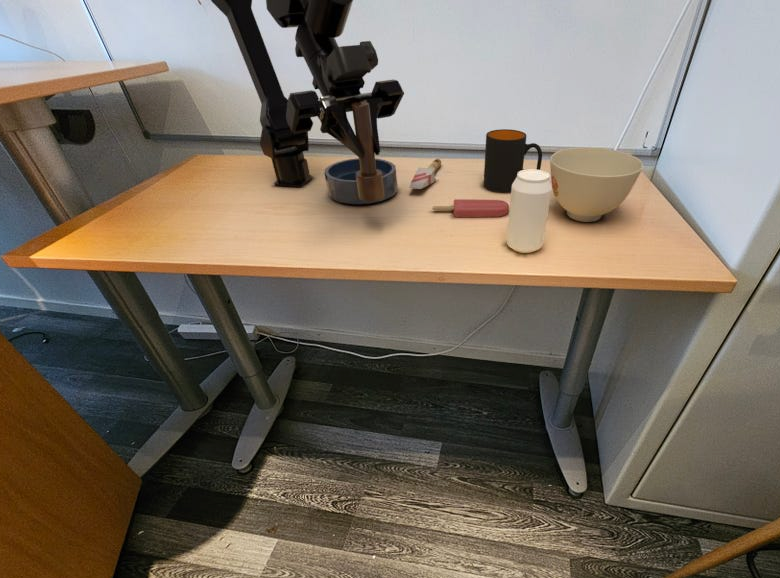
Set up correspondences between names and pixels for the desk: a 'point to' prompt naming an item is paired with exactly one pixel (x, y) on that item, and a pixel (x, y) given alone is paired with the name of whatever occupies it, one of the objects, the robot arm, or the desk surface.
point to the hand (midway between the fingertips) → (370, 155)
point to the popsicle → (477, 208)
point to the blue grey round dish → (345, 183)
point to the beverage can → (528, 210)
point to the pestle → (366, 156)
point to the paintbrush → (425, 175)
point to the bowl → (592, 180)
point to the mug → (505, 158)
